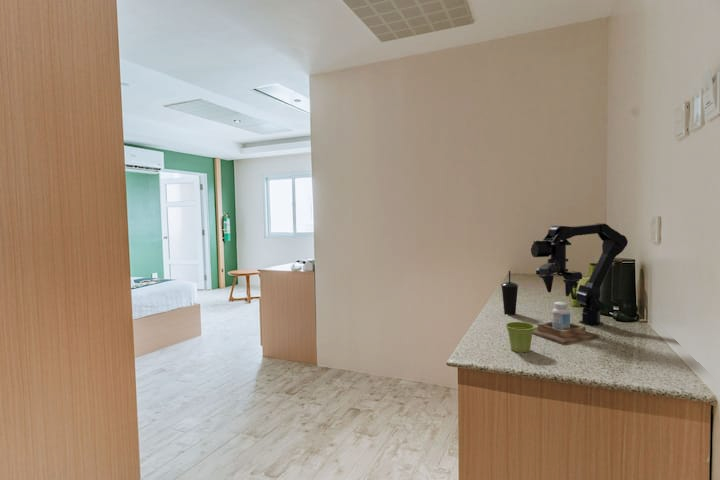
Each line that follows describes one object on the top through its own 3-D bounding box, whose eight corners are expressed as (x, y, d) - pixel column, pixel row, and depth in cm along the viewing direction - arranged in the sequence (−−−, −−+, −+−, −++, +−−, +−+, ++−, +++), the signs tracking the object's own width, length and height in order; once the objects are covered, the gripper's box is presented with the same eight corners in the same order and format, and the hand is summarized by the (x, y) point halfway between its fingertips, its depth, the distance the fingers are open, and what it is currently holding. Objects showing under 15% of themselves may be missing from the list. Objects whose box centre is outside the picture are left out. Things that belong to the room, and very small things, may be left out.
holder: (560, 325, 171) (560, 317, 170) (599, 337, 154) (599, 328, 154) (525, 331, 164) (525, 322, 164) (562, 344, 147) (562, 335, 147)
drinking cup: (500, 315, 190) (500, 271, 189) (501, 311, 197) (501, 269, 196) (518, 316, 187) (518, 272, 186) (518, 312, 194) (518, 270, 193)
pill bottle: (568, 330, 161) (568, 301, 160) (571, 334, 155) (571, 305, 154) (551, 329, 163) (551, 301, 162) (553, 333, 157) (553, 304, 156)
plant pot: (532, 356, 137) (532, 330, 136) (503, 352, 142) (502, 327, 141) (537, 348, 145) (537, 323, 144) (509, 344, 150) (509, 320, 149)
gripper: (525, 255, 175) (526, 292, 176) (561, 260, 158) (561, 300, 159) (546, 254, 179) (546, 289, 180) (583, 258, 162) (583, 297, 163)
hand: (558, 294), depth 171 cm, fingers open, 9 cm apart
